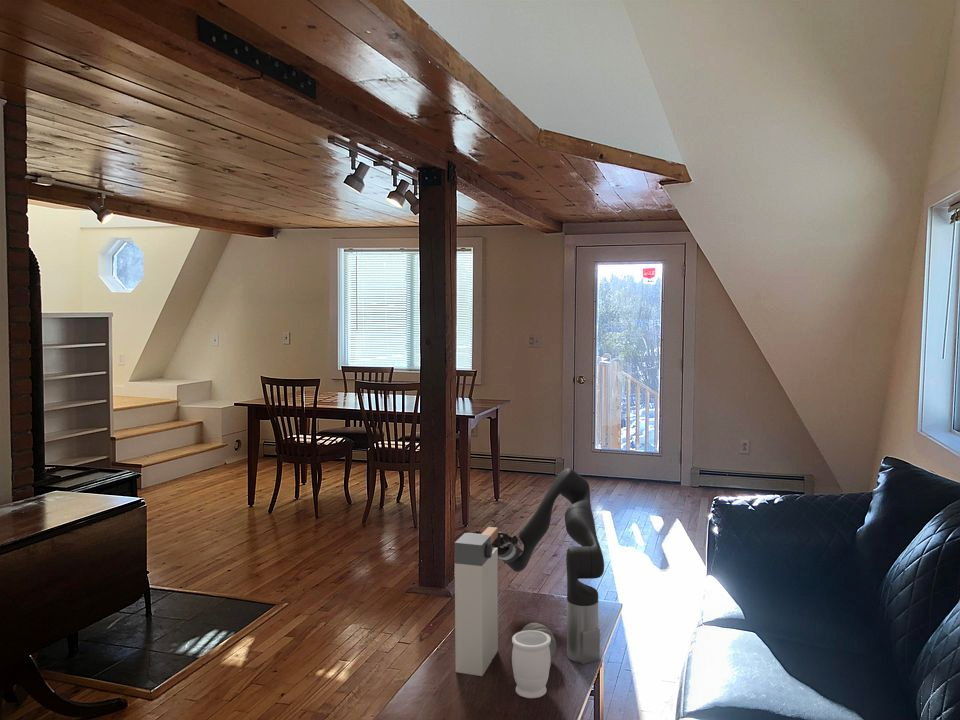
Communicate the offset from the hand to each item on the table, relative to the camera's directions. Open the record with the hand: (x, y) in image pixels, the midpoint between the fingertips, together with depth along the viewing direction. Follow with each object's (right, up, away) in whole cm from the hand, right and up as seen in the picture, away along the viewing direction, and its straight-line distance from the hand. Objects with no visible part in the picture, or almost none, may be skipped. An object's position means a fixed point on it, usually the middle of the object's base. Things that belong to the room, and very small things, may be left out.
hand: (490, 534), depth 238 cm
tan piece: (-1, -2, -5) cm, 5 cm away
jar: (+11, -37, -27) cm, 47 cm away
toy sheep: (+13, -35, -11) cm, 39 cm away
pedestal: (-4, -35, -10) cm, 37 cm away
